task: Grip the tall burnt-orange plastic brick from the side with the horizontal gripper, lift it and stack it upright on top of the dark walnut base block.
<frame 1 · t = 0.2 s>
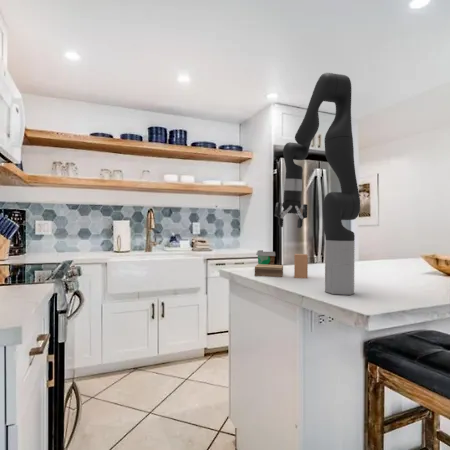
hand: (290, 227, 144), 22 cm above the countertop, tool pointing down, fingers open, 8 cm apart
food container: (263, 271, 165), on the countertop
walnut base block: (269, 274, 152), on the countertop
orange brick: (300, 277, 145), on the countertop
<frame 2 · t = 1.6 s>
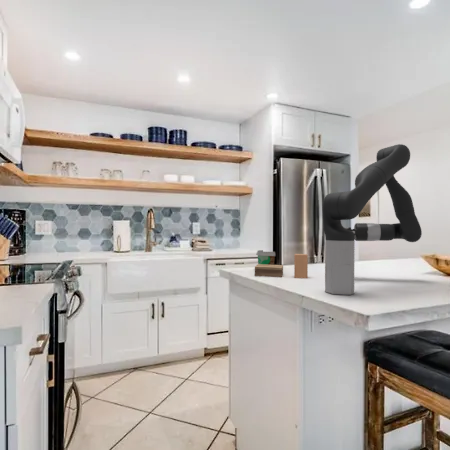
hand: (327, 231, 143), 20 cm above the countertop, tool horizontal, fingers open, 8 cm apart
nothing on the countertop moved.
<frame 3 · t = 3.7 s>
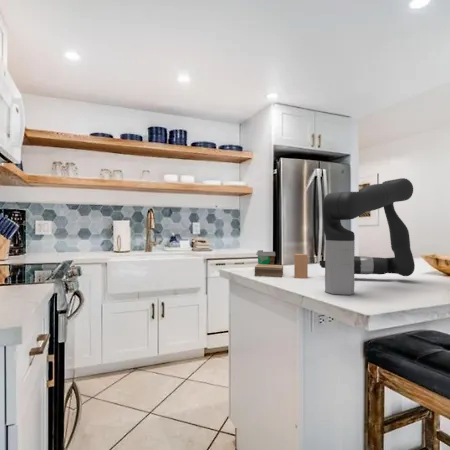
hand: (320, 264, 143), 6 cm above the countertop, tool horizontal, fingers open, 8 cm apart
nothing on the countertop moved.
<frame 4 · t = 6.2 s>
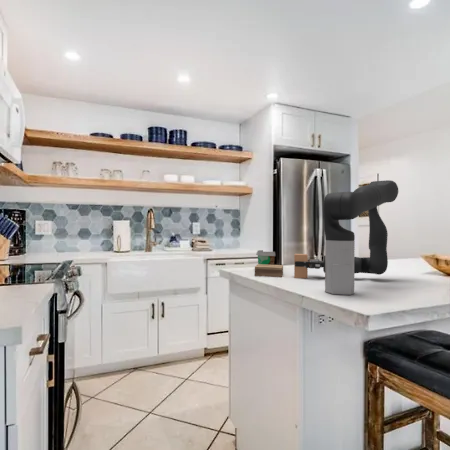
hand: (295, 263, 146), 6 cm above the countertop, tool horizontal, fingers closed on orange brick, 5 cm apart
orange brick: (300, 277, 145), on the countertop, touching gripper
everything else where it was.
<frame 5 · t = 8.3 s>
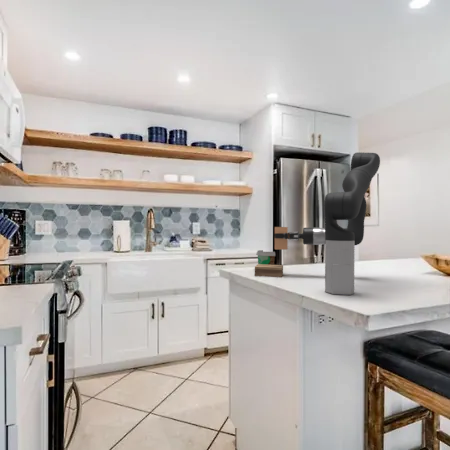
hand: (275, 235, 151), 18 cm above the countertop, tool horizontal, fingers closed on orange brick, 5 cm apart
orange brick: (281, 249, 150), point 12 cm above the countertop, touching gripper
everything else where it was.
when the fingers open (12 cm above the countertop, at t = 10.4 s): orange brick drops 2 cm, resting on walnut base block.
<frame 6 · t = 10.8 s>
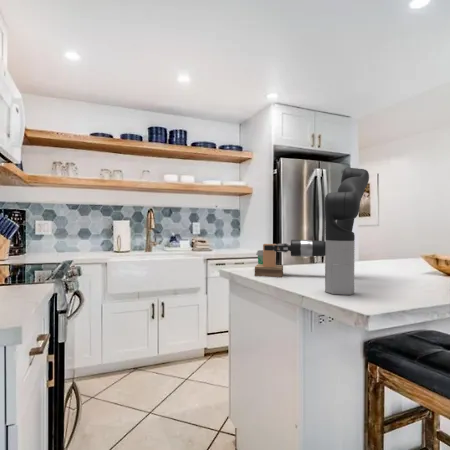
hand: (265, 247, 152), 13 cm above the countertop, tool horizontal, fingers open, 8 cm apart
orange brick: (269, 266, 152), point 4 cm above the countertop, touching walnut base block
everything else where it was.
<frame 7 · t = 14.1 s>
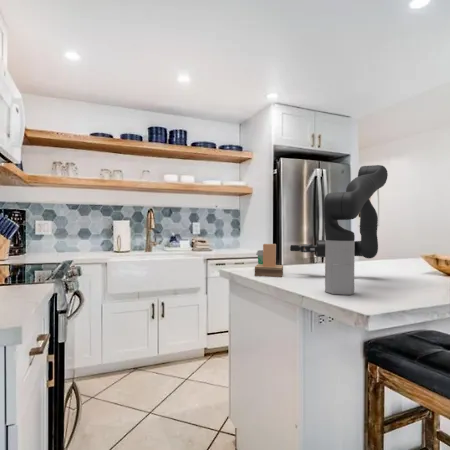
hand: (290, 247, 150), 12 cm above the countertop, tool horizontal, fingers open, 8 cm apart
nothing on the countertop moved.
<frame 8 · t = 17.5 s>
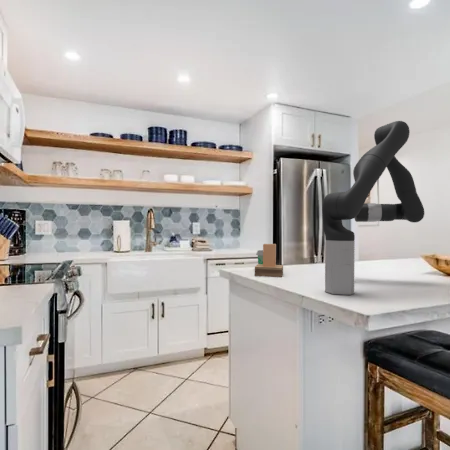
hand: (326, 212, 138), 28 cm above the countertop, tool horizontal, fingers open, 8 cm apart
nothing on the countertop moved.
at the end: orange brick 0.1 cm off-centre on the walnut base block, point 4.0 cm above the walnut base block's base; orange brick tilted 0°; the gripper is holding nothing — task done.
